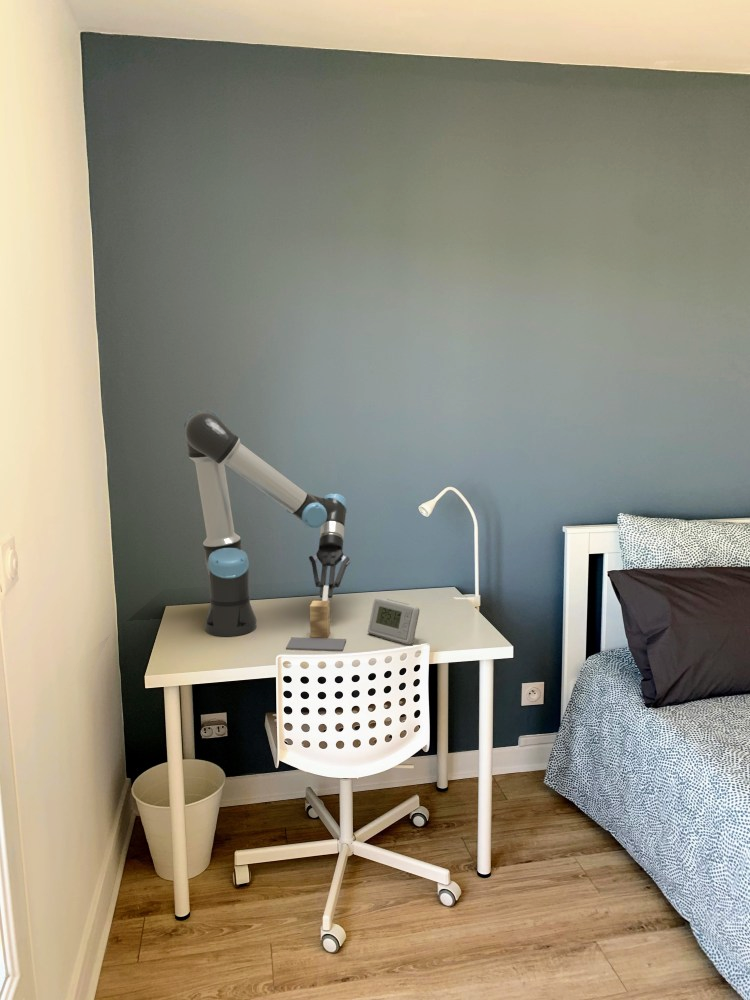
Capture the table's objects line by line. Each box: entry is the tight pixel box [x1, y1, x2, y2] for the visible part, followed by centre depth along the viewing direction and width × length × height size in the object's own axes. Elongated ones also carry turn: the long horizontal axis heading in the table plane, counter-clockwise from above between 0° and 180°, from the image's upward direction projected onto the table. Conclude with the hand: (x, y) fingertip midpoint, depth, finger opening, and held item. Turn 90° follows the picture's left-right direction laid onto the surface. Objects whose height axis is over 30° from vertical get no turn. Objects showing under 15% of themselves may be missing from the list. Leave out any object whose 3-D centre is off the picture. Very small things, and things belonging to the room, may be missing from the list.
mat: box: [285, 637, 347, 652], centre depth 220 cm, size 16×8×1 cm, turn 85°
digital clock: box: [367, 596, 420, 646], centre depth 224 cm, size 16×9×11 cm, turn 41°
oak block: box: [309, 600, 331, 638], centre depth 225 cm, size 5×5×10 cm
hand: (324, 606), depth 231 cm, fingers closed
